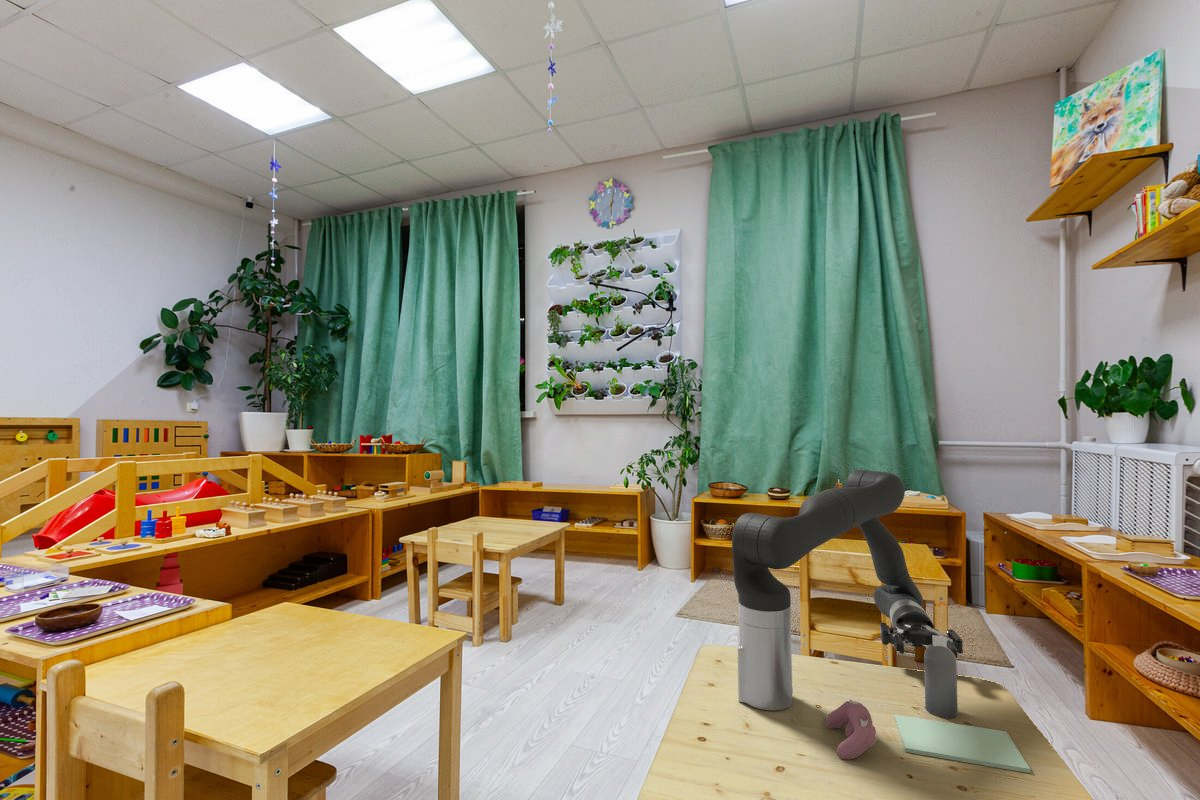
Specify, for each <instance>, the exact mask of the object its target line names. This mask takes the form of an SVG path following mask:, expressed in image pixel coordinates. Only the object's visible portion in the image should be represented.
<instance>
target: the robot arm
mask: <svg viewBox="0 0 1200 800" xmlns="http://www.w3.org/2000/svg"><path fill="white" fill-rule="evenodd" d="M905 492H906V491H905V486H904V483H903V481H902V480H901V479H900V477H899V476H897V475H896V474H893V473H891V472H886V471H876V470H868V469H855V470H853V471H851V472H850V473H849V475H848V476H847V478H846V482H845V486H843V487H833V488H829V489H824V490H822V491H819V492H817V493H814V494H812V495H810V496H809V497H807V498H806V499H805V500H804V501H803V502H802V503H801V506H800V508H799V512H798V515H795V516H791V517H780V516H773V515H768V514H763V513H762V514H761V513H753V512H747V513H743V514H741V515H740V516H739V517H738V518H737V520H736V521H735V524H734V525H733V529H732V536H731V550H732V551H731V553H732V566H733V581H734V586H735V590H736V591H737V598H738V599H737V600H738V601H737V602H738V647H737V680H738V681H737V683H738V685H737V687H738V688H737V690H738V692H737V693H738V694H737V695H738V697H737V698H738V702H740V703H745V704H747V705H749V706H751V707H753V708H756V709H759V710H763V711H764V710H765V711H774V712H775V711H782V710H785V709H787V708H789V707H792V706H791V705H792V704H793V699H794V698H793V693H794V692H793V688H794V687H793V661H792V660H793V657H792V656H793V655H792V654H793V653H792V649H793V647H792V610H791V609H792V607H791V605H792V599H791V592H790V590H789V588H788V587H787V586H786V585H785V584H784V583H782V582H781V581H780V580H779V579H778V578H776V577H775V576H774V575H773V573H772V572H771V571H770V569H772V570H785V569H787V568H790V567H791V566H794V565H795V564H796V563H797V562H799V561H800V560H801V559H803V558H804V557H806V556H807V554H809V553H810V552H812V551H813V550H815V549H816V548H818V547H819V546H822V545H824V544H825V543H826V542H828V541H830V540H832V539H833V540H834V538H837V537H840V536H841V535H844V534H845V533H847V532H849V531H850V530H852V529H853V528H856V527H859V528H860V531H861V532H862V535H863V537H864V539H865V541H866V544H867V546H868V549H869V552H870V556H871V559H872V560H871V561H872V562H873V567H874V572H875V575H876V578H877V579H878V580H879V582H880V583H882V584H883V585H879V586H877V587H876V588H875V590H874V592H873V600H874V603H875V605H876V607H877V609H878V610H879V611H880V613H882V615H884V616H885V617H886V618H888V619H890V623H891V626H892V627H891V626H889V625H888V624H887V623H886V622H882V621H881V622H880V623H879V632H880V639H881V644H882V645H885V646H888V645H889V644H891V646H893V648H894V650H895V651H897V652H898V653H899V654H902V655H904V654H905V647H907V646H909V647H910V646H911V647H914V648H921V647H926V648H927V647H928V646H930V645H932V644H933V642H932V635H935V636H944V637H946V638H947V647H948V648H949V649H950V650H951V651H952V652H953V653H954V655H955V657H956V659H957V658H958V654H963V653H964V649H963V646H964V645H963V643H964V640H963V639H962V638H961V636H959V634H958V633H957V632H956V631H955V630H954V629H950V628H949V629H947V631H946V632H941V631H940V630H938V629H937V628H936V627H935V625H934V622H933V621H932V620H931V618H930V617H929V615H928V614H927V612H926V611H925V609H924V608H923V607H924V606H923V605H924V598H923V596H922V593H921V592H920V590H919V588H918V586H917V585H916V583H915V581H913V579H912V577H911V576H910V574H909V570H908V567H907V563H906V559H905V554H904V551H903V549H902V547H901V544H900V543H899V542H898V540H897V539H896V538H895V536H894V535H893V534H892V533H891V532H890V530H888V529H887V528H886V526H885V525H884V524H883V523H882V521H881V520H880V519H879V517H883V516H886V515H889V514H892V513H894V512H895V511H897V510H898V509H899V507H901V505H902V503H903V502H904V498H905V495H906V494H905Z"/></svg>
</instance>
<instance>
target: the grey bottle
mask: <svg viewBox="0 0 1200 800" xmlns="http://www.w3.org/2000/svg"><path fill="white" fill-rule="evenodd" d="M932 642H933V644H932V645H930V646H927V647H926V648H925V650H924V652H923V653H924V654H923V664H924V665H923V667H924V669H923V672H924V704H925V706H924V708H925V710H926V711H927V712H928V713H929V714H931V715H933V716H935V717H937V718H941V719H947V720H949V719H950V720H953V719H956V718H957V717H958V716H959V713H958V712H959V710H958V709H959V707H958V680H957V679H958V678H957V677H958V672H957V658H956V657H955V655H954V653H953V652H952V651H951V650H950V649H949V648H948V647H947V638H946V637H944V636H935V635H932Z"/></svg>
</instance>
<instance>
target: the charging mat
mask: <svg viewBox="0 0 1200 800" xmlns="http://www.w3.org/2000/svg"><path fill="white" fill-rule="evenodd" d="M894 720H895V721H894V722H895V724H896V726H897V730H898V733H899V736H900V740H901V743H902V746H903V748H904V752H905V753H909V754H910V753H911V754H915V755H916V754H917V755H921V756H929V757H933V758H940V759H946V760H951V761H957V762H963V763H967V764H968V763H970V764H975V765H981V766H986V767H993V768H997V769H1004V770H1009V771H1013V772H1014V771H1016V772H1019V773H1020V772H1021V773H1028V774H1031V773H1032V772H1031V768H1030V766H1029V764H1028V763H1027V762H1026V761H1027V760H1025V758H1024V757H1023V755H1022V754H1021V752H1020V751H1019V749H1018V747H1017V745H1016V744H1015V743H1014V742H1013V741H1014V740H1012V738H1011V737H1010V735H1009V734H1008V732H1007V731H1005V730H999V729H992V728H985V727H979V726H973V725H966V724H959V723H952V722H945V721H939V720H934V719H927V718H920V717H913V716H906V715H900V714H894Z"/></svg>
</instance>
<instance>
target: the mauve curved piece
mask: <svg viewBox="0 0 1200 800" xmlns="http://www.w3.org/2000/svg"><path fill="white" fill-rule="evenodd" d="M824 723H825V725H826V727H827V728H829V729H833V730H835V729H839V728H843V727H845V726H846V728H845V735H846V736H845V737H847V738H846V739H844V740H843V741H841V742H840V743H839V744H838V746H837V747H836V755H837V756H838V757H839V758H840V759H842V760H852V759H855V758H857V757H859V756H860V755H862V754H863V753H864V752H865V751H866V750H868V749H870V748H871V747H872V746H873V744H875V743H876V741H877V735H876V734H877V733H876V731H877V730H876V727H875V726H874V724H873V718H872V715H871V713H870V711H869V710H868V708H867V707H866V706H865V705H863V703H861V702H859V701H856V700H855V701H853V700H852V699H849V700H848V701H847V700H846V701H844V702H843V703H842V704H841V705H840V706H839V707H838V708H836V709H834V710H832V711H831V712H830V713H828V714H827V716H825V719H824Z"/></svg>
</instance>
